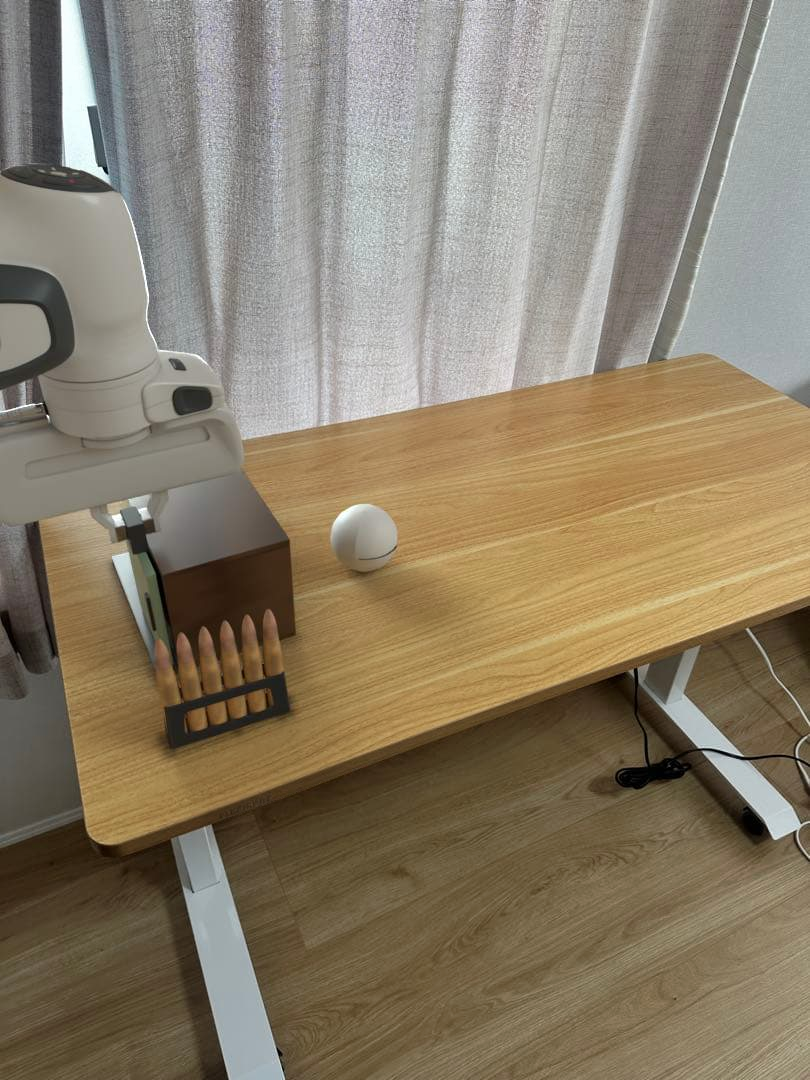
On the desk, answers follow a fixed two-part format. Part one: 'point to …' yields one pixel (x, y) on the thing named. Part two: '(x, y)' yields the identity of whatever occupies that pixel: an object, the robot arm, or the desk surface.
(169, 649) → the sliding door
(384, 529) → the white sphere
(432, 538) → the desk surface
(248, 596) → the cabinet
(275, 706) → the ammunition clip
